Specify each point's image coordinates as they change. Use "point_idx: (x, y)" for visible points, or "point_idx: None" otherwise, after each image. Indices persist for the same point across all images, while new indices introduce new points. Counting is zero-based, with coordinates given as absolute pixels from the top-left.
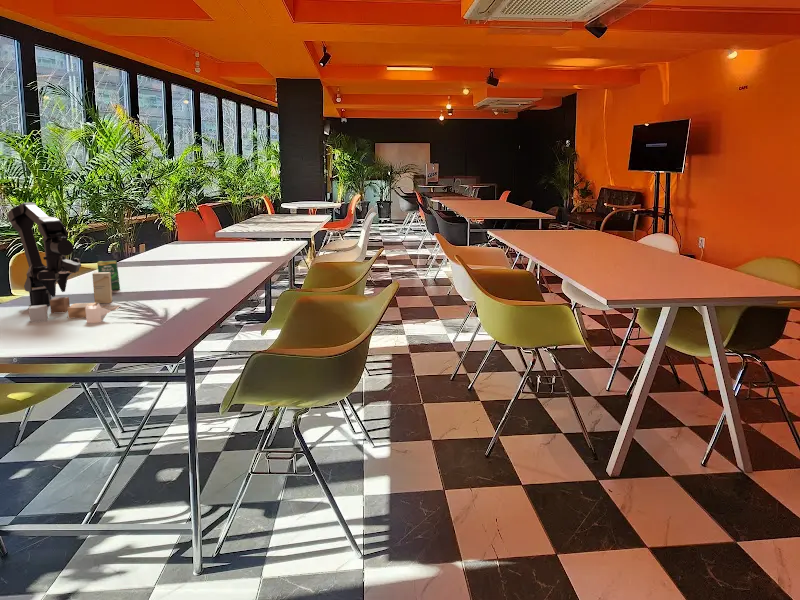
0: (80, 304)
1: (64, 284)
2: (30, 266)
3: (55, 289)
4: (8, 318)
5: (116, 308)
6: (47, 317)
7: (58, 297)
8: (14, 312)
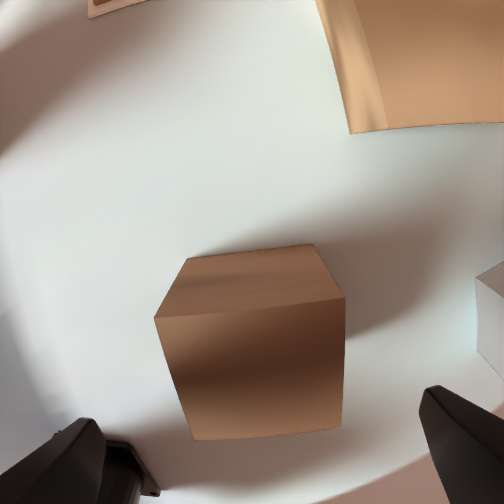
0: (428, 34)
1: (46, 487)
2: None
3: (494, 437)
4: (414, 456)
5: None
6: (498, 270)
7: (188, 415)
8: (278, 498)
